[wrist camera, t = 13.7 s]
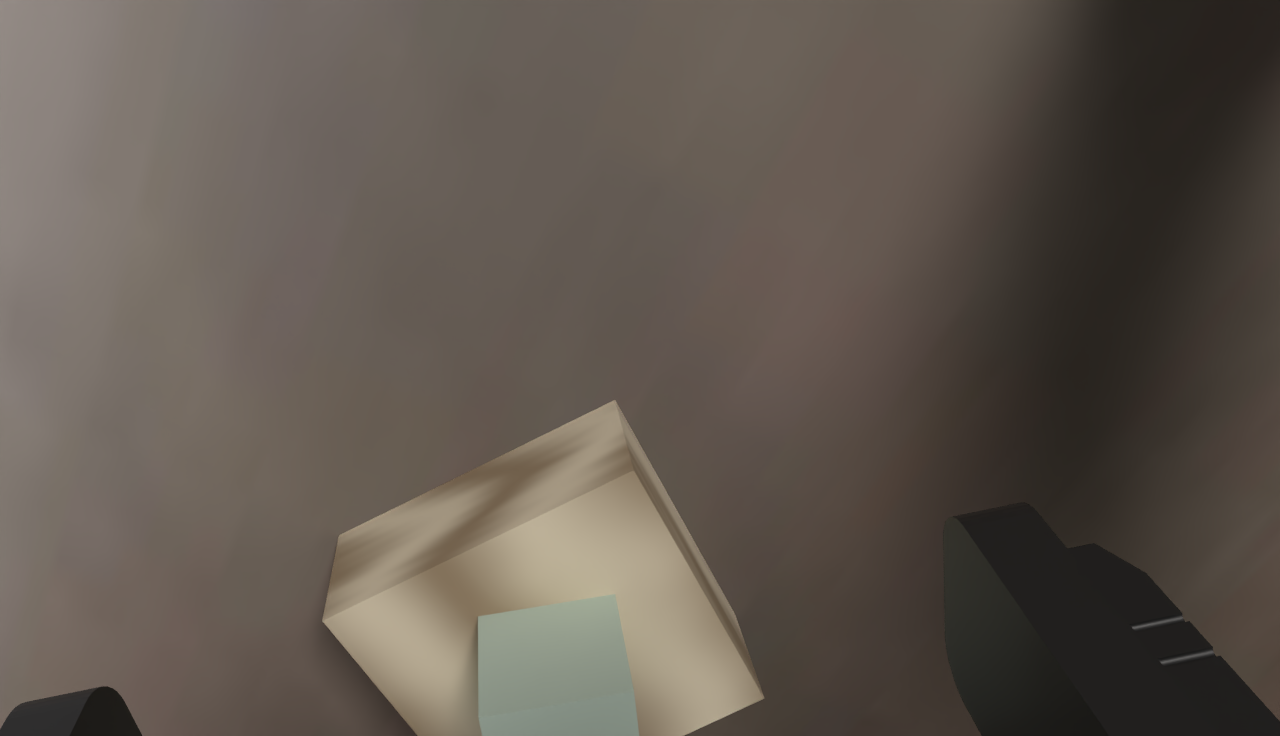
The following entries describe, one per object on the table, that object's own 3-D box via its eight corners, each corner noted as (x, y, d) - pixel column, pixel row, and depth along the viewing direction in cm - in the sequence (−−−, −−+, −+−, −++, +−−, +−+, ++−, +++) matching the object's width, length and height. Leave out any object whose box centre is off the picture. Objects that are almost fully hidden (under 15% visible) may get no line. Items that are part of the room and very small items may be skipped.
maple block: (613, 395, 36) (633, 470, 32) (732, 608, 41) (764, 698, 37) (340, 530, 37) (322, 620, 33) (489, 722, 42) (491, 824, 38)
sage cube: (614, 593, 34) (634, 691, 30) (627, 696, 36) (647, 800, 32) (478, 616, 34) (478, 717, 30) (498, 718, 36) (501, 827, 32)
